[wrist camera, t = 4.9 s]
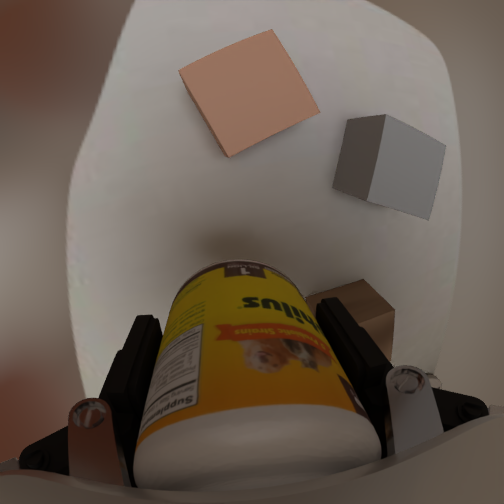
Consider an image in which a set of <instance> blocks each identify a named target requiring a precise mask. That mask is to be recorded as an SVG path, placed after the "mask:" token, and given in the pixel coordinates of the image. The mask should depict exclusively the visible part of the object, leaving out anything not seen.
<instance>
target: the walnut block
mask: <svg viewBox="0 0 504 504" xmlns="http://www.w3.org/2000/svg"><path fill="white" fill-rule="evenodd" d="M331 297H337V298H338V299H339V300H340V301H341V303H342V304H343V305H344V306H345V308H346V309H347V310H348V312H349V313H350V314H351V316H352V317H353V318H354V319H355V321H356V322H357V323H358V325H359V326H360V327H363V328H364V329H365V330H366V331H367V333H368V334H369V335H370V337H371V338H372V339H373V340H374V342H375V343H376V344H377V346H378V347H379V348H380V350H381V351H382V352H383V354H384V355H385V356H386V358H387V359H388V360H389V361H391V354H392V344H393V332H394V317H395V309H394V308H393V307H392V306H391V305H390V304H389V303H388V302H387V301H386V300H385V299H384V298H382V297H381V296H380V295H379V294H378V293H377V292H376V291H375V290H374V289H373V288H372V287H371V286H370V285H369V284H368V283H367V282H366V281H365V280H364V279H362V280H359V281H356V282H353V283H350V284H347V285H344V286H340V287H337V288H334V289H331V290H328V291H325V292H321V293H318V294H315V295H311V296H308V297H306V303H307V305H308V307H309V309H310V310H311V312H312V314H313V316H314V318H316V305H317V303H321V300H322V299H324V298H331Z"/></svg>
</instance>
